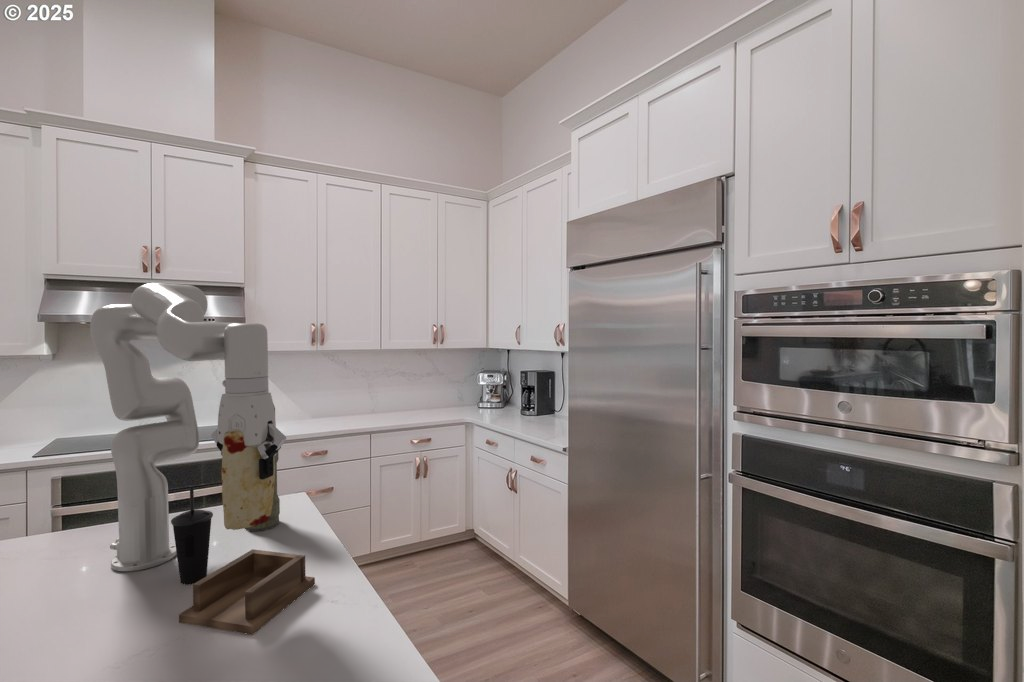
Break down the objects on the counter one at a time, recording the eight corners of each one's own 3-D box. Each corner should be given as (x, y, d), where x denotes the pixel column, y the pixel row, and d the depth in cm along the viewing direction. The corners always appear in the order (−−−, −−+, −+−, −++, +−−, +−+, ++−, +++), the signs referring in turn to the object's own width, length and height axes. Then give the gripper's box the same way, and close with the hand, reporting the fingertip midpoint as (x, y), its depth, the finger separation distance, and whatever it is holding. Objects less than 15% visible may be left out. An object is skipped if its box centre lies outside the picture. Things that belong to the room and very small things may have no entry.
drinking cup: (222, 574, 112) (220, 484, 111) (187, 591, 105) (185, 495, 104) (199, 567, 115) (197, 480, 115) (164, 583, 108) (162, 490, 108)
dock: (178, 622, 94) (178, 588, 94) (250, 575, 111) (250, 546, 111) (252, 634, 90) (251, 598, 90) (314, 584, 108) (314, 554, 107)
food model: (231, 537, 94) (228, 430, 94) (215, 529, 98) (213, 426, 98) (282, 521, 102) (280, 422, 101) (265, 514, 106) (263, 418, 105)
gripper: (194, 387, 98) (196, 478, 98) (272, 389, 94) (274, 485, 94) (224, 383, 105) (226, 468, 106) (298, 385, 101) (300, 473, 101)
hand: (249, 475), depth 100 cm, fingers closed on food model, 7 cm apart
